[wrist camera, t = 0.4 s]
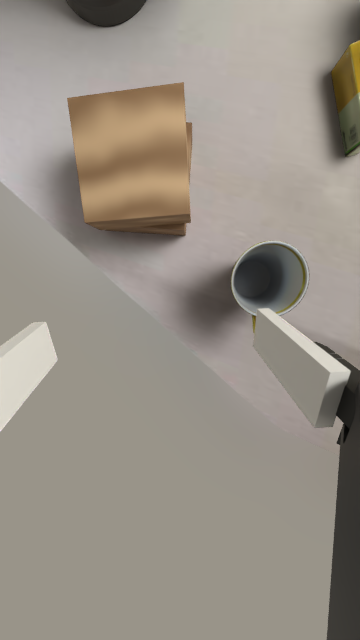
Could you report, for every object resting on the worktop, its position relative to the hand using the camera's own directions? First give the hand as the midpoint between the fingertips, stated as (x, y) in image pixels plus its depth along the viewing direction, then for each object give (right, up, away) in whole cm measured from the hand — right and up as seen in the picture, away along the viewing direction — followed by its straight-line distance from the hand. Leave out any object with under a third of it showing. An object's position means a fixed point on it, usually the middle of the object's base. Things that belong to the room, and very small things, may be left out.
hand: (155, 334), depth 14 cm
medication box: (+27, +32, +19) cm, 46 cm away
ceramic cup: (+14, +7, +25) cm, 29 cm away
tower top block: (-4, +22, +18) cm, 29 cm away
